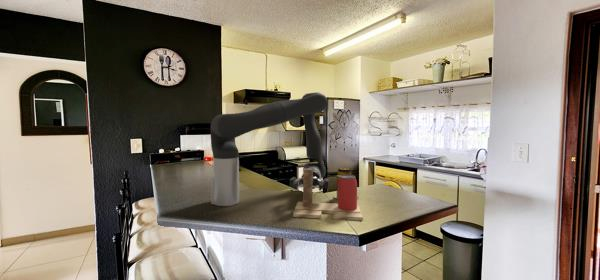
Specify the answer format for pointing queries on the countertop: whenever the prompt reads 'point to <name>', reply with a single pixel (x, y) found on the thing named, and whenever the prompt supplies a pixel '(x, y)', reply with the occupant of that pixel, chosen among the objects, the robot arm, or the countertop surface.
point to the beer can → (347, 192)
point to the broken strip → (336, 215)
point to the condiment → (342, 172)
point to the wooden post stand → (311, 206)
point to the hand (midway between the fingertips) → (307, 187)
